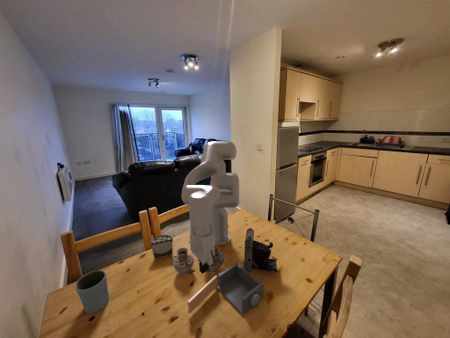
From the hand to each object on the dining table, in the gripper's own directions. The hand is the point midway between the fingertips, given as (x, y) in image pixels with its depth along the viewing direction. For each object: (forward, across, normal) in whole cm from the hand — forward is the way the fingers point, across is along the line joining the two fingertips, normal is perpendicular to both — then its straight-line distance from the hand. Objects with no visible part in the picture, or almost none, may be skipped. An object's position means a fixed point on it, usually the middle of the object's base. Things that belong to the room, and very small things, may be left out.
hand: (204, 270), depth 71 cm
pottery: (+18, -18, +8) cm, 27 cm away
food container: (+18, -43, -1) cm, 46 cm away
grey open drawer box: (+17, +4, +15) cm, 23 cm away
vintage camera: (+18, 0, +31) cm, 36 cm away
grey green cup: (+17, -30, -34) cm, 49 cm away
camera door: (+16, -3, +1) cm, 16 cm away
